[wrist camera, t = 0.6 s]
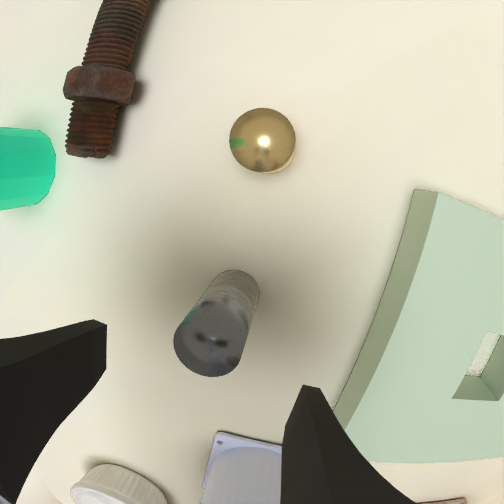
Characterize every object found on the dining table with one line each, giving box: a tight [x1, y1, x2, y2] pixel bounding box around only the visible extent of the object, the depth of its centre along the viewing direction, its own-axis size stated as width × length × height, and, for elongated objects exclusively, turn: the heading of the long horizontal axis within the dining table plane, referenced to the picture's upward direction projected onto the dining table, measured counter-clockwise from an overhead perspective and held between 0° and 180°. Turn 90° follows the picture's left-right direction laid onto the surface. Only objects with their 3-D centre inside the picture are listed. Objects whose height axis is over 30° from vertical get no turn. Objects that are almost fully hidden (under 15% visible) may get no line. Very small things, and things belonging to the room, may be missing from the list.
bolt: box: [63, 0, 151, 158], centre depth 15 cm, size 6×5×15 cm
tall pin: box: [173, 270, 259, 377], centre depth 17 cm, size 3×3×7 cm
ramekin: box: [70, 464, 167, 504], centre depth 25 cm, size 11×11×5 cm
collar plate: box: [333, 189, 504, 463], centre depth 17 cm, size 18×18×4 cm
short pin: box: [229, 108, 295, 174], centre depth 16 cm, size 3×3×4 cm
